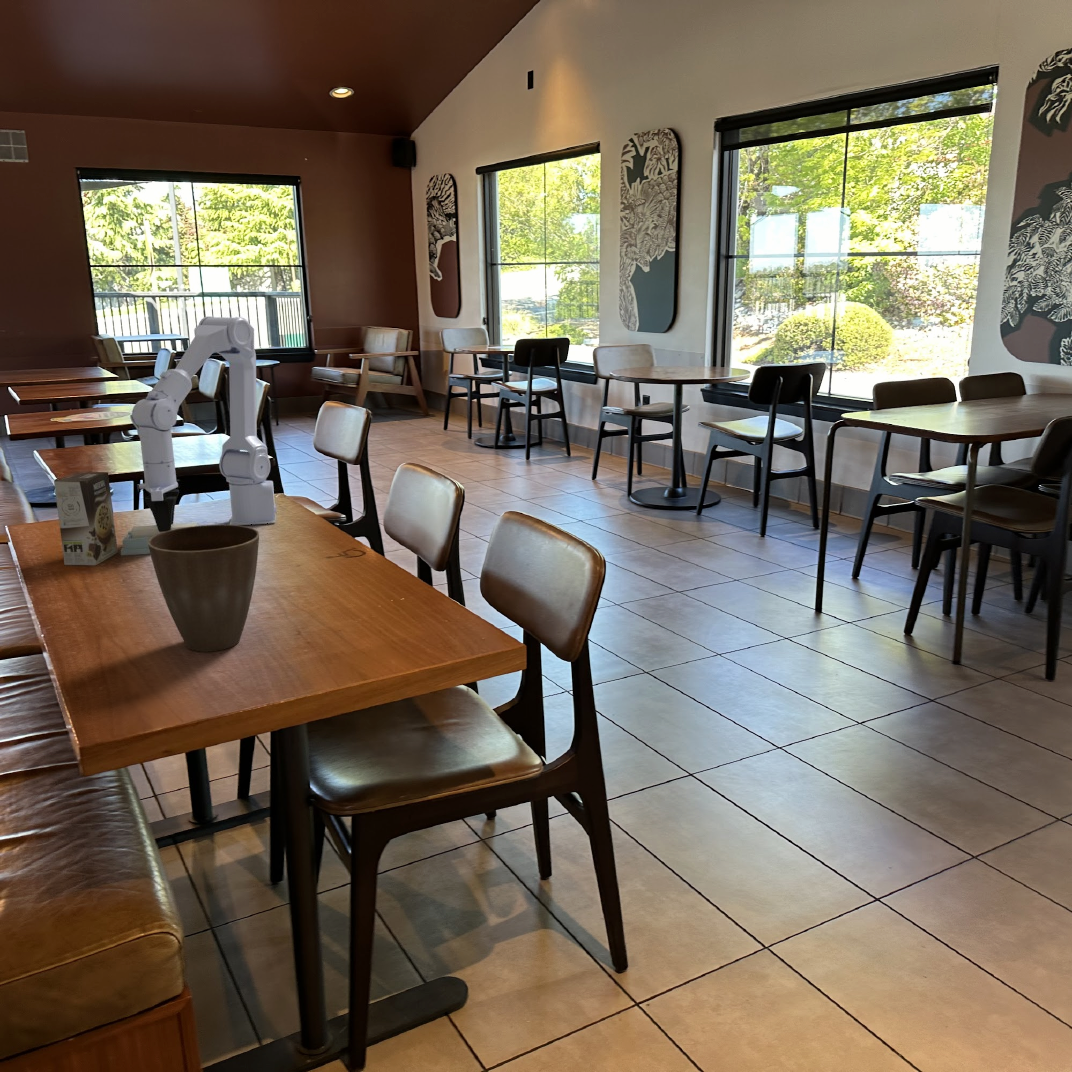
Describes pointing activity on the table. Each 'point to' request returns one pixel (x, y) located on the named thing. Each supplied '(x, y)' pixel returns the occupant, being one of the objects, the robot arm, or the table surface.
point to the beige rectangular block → (154, 529)
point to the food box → (86, 518)
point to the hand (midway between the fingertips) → (165, 529)
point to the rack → (135, 545)
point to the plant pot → (207, 581)
